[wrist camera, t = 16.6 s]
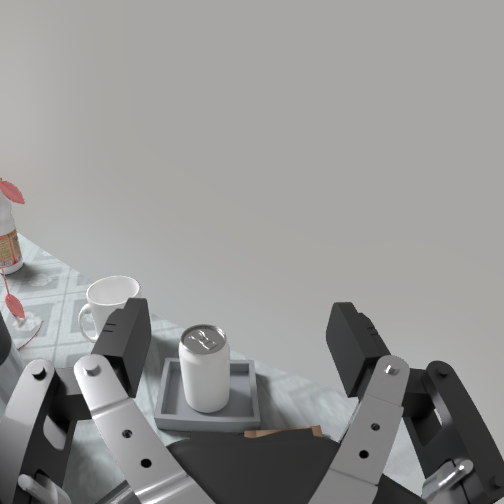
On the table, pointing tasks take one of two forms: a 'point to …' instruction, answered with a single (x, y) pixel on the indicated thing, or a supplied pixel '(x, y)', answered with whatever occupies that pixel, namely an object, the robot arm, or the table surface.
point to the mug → (107, 300)
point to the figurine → (10, 300)
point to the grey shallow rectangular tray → (225, 420)
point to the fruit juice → (8, 239)
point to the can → (205, 367)
